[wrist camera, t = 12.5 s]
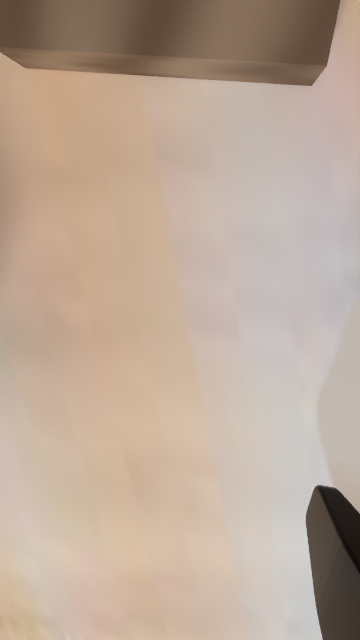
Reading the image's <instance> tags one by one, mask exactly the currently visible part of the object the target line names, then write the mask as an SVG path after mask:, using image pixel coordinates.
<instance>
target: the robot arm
mask: <svg viewBox="0 0 360 640" xmlns="http://www.w3.org/2000/svg"><path fill="white" fill-rule="evenodd" d="M306 528H307V536H308V544H309V553H310V561H311V569H312V578H313V586H314V594H315V602H316V608H317V614H318V619H319V624H320V629H321V633H322V638H323V640H360V513H359V512H358V511H357V510H356V509H355V508H354V507H353V506H352V504H350V502H349V501H348V500H347V499H346V498H345V497H344V496H343V494H342V493H341V492H340V491H339V490H337V489H336V488H334V487H328V486H322V485H317V486H316V487H315V488H314V490H313V493H312V497H311V500H310V503H309V506H308V509H307V513H306Z"/></svg>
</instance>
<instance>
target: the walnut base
mask: <svg viewBox="0 0 360 640" xmlns="http://www.w3.org/2000/svg"><path fill="white" fill-rule="evenodd" d="M339 4H340V0H0V52H1V53H3V54H4V55H6V56H7V57H9V58H11V59H12V60H14V61H15V62H17V63H18V64H20V65H21V66H23V67H25V68H33V69H49V70H65V71H81V72H97V73H113V74H129V75H145V76H161V77H177V78H193V79H209V80H225V81H241V82H257V83H273V84H289V85H305V86H312V85H313V83H314V82H315V81H316V79H317V78H318V77H319V75H320V74H321V73H322V71H323V70H324V69H325V67H326V66H327V62H328V57H329V53H330V48H331V43H332V38H333V33H334V28H335V24H336V19H337V14H338V9H339Z"/></svg>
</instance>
